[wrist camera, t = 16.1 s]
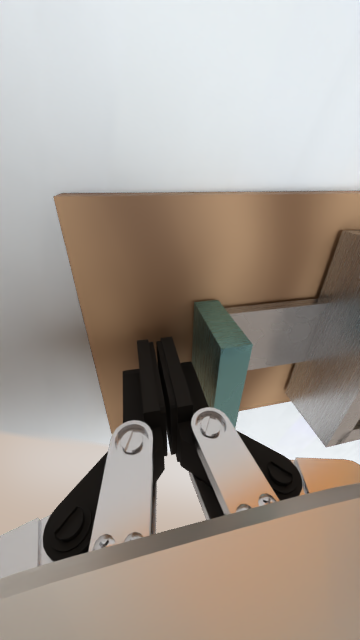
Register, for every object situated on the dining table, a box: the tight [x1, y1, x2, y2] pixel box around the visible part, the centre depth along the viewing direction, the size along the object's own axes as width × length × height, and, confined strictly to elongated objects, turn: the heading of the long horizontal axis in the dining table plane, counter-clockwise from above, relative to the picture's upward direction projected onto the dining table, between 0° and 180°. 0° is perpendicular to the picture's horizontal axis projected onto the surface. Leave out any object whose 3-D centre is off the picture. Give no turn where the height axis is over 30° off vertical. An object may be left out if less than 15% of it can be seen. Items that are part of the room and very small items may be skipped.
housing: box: [192, 230, 360, 447], centre depth 12 cm, size 17×11×4 cm, turn 90°
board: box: [54, 191, 360, 434], centre depth 15 cm, size 28×14×2 cm, turn 90°
